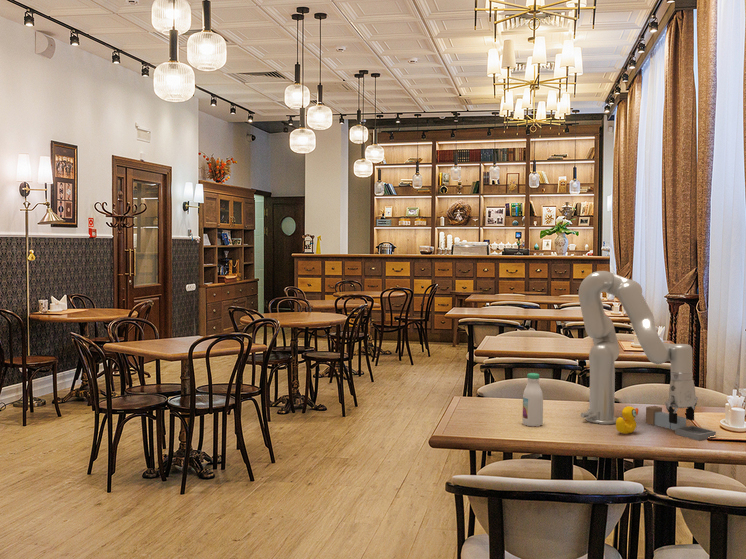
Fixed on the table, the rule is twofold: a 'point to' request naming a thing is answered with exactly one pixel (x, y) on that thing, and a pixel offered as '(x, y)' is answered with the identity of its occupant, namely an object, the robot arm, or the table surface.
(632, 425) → the duckling
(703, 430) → the dish
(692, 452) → the table surface
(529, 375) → the milk bottle
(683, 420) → the stub
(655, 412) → the grey and brown blocks
